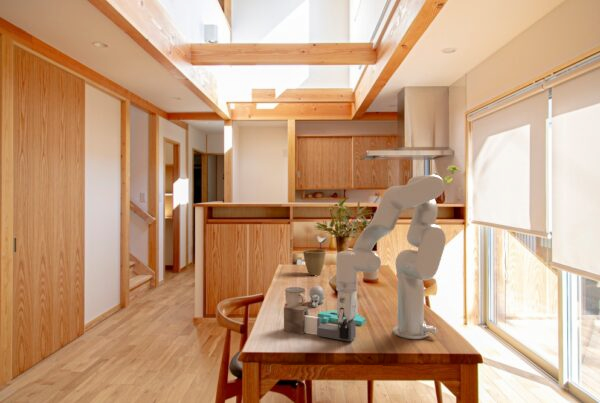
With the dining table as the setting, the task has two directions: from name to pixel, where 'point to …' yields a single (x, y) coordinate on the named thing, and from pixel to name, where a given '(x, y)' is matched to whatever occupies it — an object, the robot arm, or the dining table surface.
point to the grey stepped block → (336, 331)
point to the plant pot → (314, 261)
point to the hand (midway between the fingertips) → (346, 335)
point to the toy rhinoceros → (316, 295)
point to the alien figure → (332, 317)
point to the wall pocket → (294, 318)
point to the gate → (311, 324)
